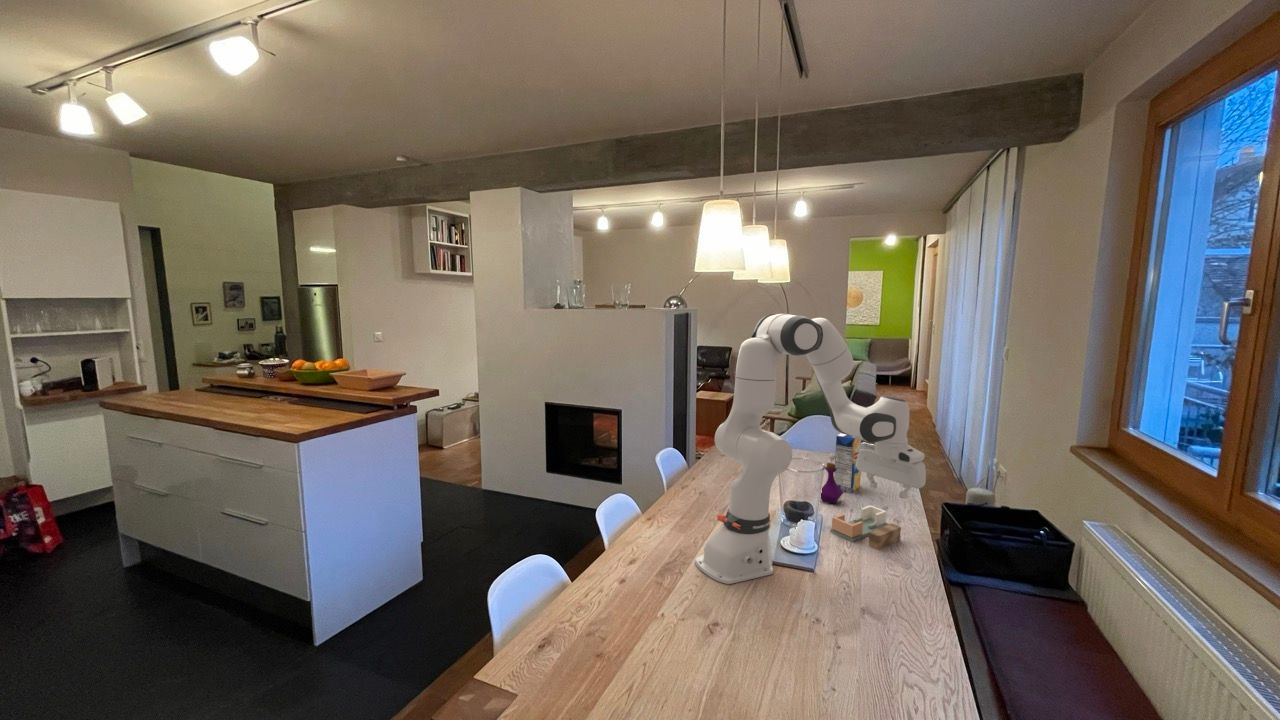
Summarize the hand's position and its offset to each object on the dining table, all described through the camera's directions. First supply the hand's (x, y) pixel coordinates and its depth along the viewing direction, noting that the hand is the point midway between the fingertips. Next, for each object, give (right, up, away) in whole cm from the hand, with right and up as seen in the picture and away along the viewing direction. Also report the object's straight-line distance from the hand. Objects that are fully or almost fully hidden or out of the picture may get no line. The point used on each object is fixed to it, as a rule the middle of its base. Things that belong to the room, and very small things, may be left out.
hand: (887, 492), depth 150 cm
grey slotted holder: (-4, -15, +11) cm, 19 cm away
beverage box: (+8, -11, +48) cm, 50 cm away
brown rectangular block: (0, -16, +2) cm, 16 cm away
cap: (-10, -14, +6) cm, 18 cm away
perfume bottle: (-5, -13, +34) cm, 36 cm away
